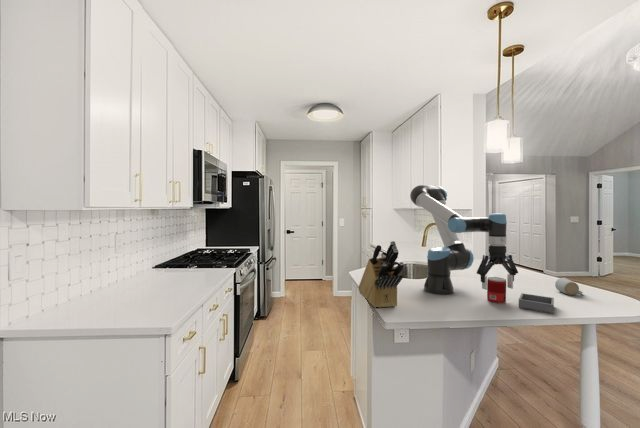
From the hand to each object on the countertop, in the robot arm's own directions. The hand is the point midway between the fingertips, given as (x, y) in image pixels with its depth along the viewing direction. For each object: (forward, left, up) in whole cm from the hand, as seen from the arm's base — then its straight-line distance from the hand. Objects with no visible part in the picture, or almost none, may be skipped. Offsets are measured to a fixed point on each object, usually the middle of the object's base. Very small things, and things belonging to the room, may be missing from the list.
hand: (497, 288), depth 150 cm
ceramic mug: (+28, +39, -7) cm, 48 cm away
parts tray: (+16, +1, -6) cm, 17 cm away
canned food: (0, 0, -6) cm, 6 cm away
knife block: (-45, -37, -6) cm, 58 cm away
